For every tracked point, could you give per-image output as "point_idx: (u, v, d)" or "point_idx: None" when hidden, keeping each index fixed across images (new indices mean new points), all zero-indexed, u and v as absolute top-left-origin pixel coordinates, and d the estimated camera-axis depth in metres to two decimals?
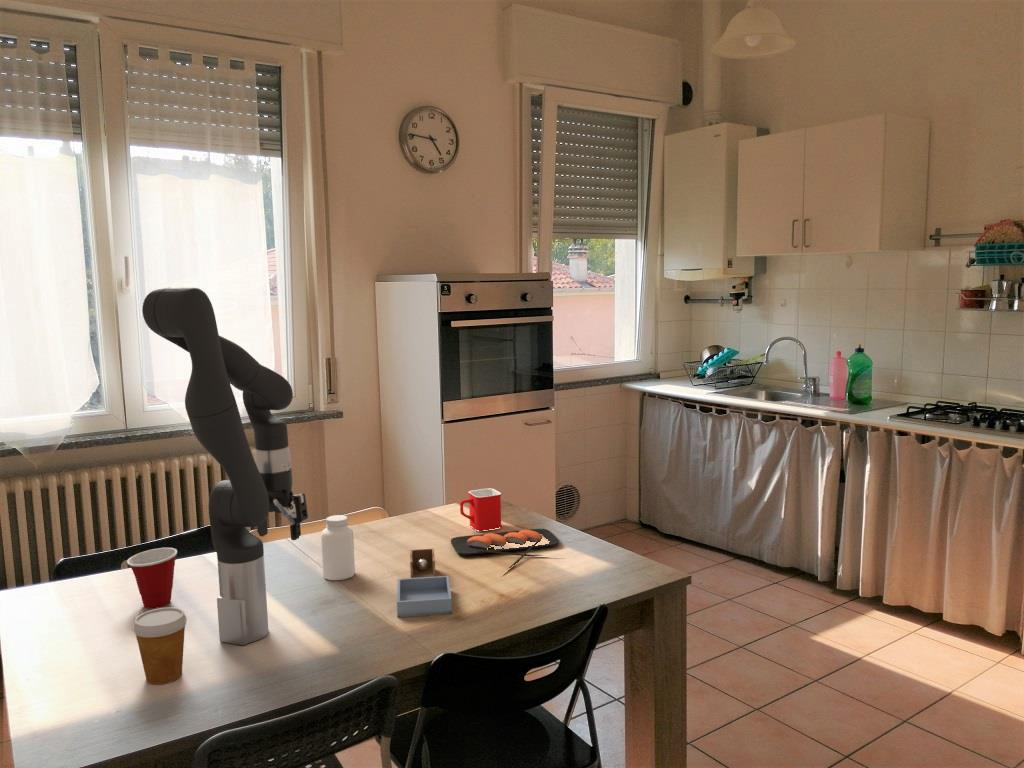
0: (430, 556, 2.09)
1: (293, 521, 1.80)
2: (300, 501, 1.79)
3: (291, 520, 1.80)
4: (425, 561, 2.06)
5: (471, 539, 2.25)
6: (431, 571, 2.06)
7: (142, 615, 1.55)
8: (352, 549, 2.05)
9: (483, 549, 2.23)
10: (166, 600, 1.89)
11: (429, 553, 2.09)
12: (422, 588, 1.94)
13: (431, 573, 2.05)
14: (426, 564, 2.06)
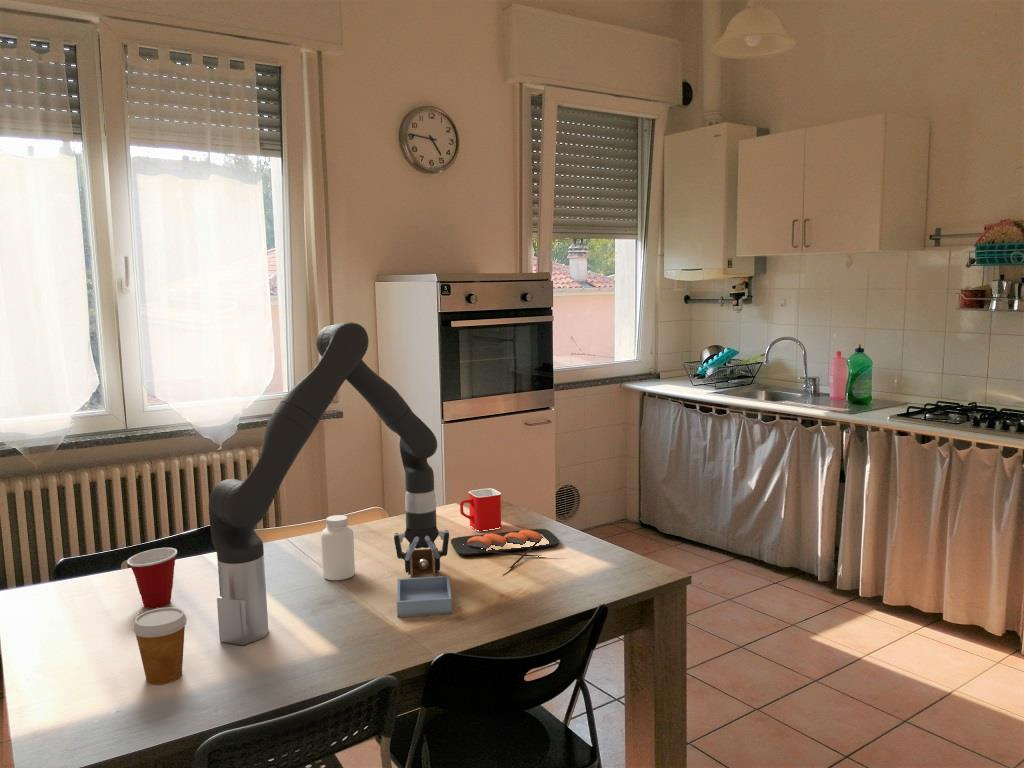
0: (430, 556, 2.09)
1: (438, 556, 2.04)
2: (448, 537, 2.04)
3: (437, 555, 2.04)
4: (426, 561, 2.07)
5: (471, 539, 2.24)
6: (431, 571, 2.06)
7: (142, 615, 1.55)
8: (352, 549, 2.05)
9: (483, 549, 2.23)
10: (166, 600, 1.89)
11: (429, 553, 2.09)
12: (422, 588, 1.94)
13: (431, 573, 2.05)
14: (427, 564, 2.06)
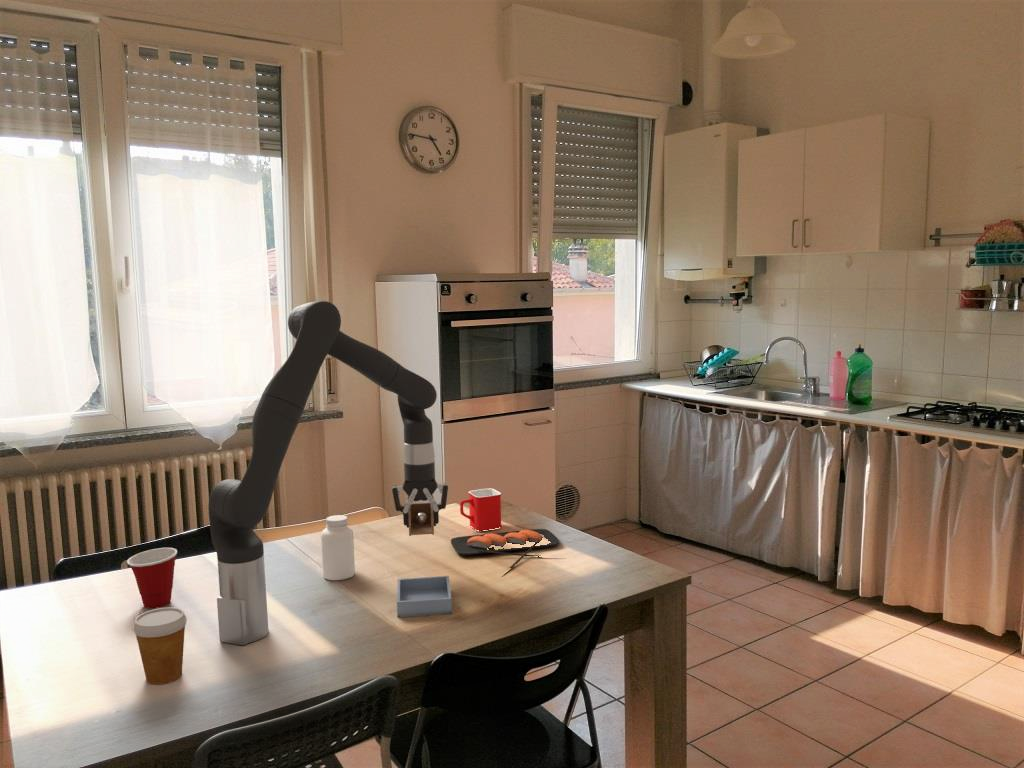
0: (429, 510, 2.07)
1: (437, 509, 2.02)
2: (447, 490, 2.03)
3: (435, 508, 2.02)
4: (425, 515, 2.05)
5: (471, 539, 2.24)
6: (429, 525, 2.05)
7: (142, 615, 1.55)
8: (352, 549, 2.05)
9: (483, 549, 2.23)
10: (166, 600, 1.89)
11: (428, 507, 2.07)
12: (422, 588, 1.94)
13: (429, 526, 2.04)
14: (425, 518, 2.05)
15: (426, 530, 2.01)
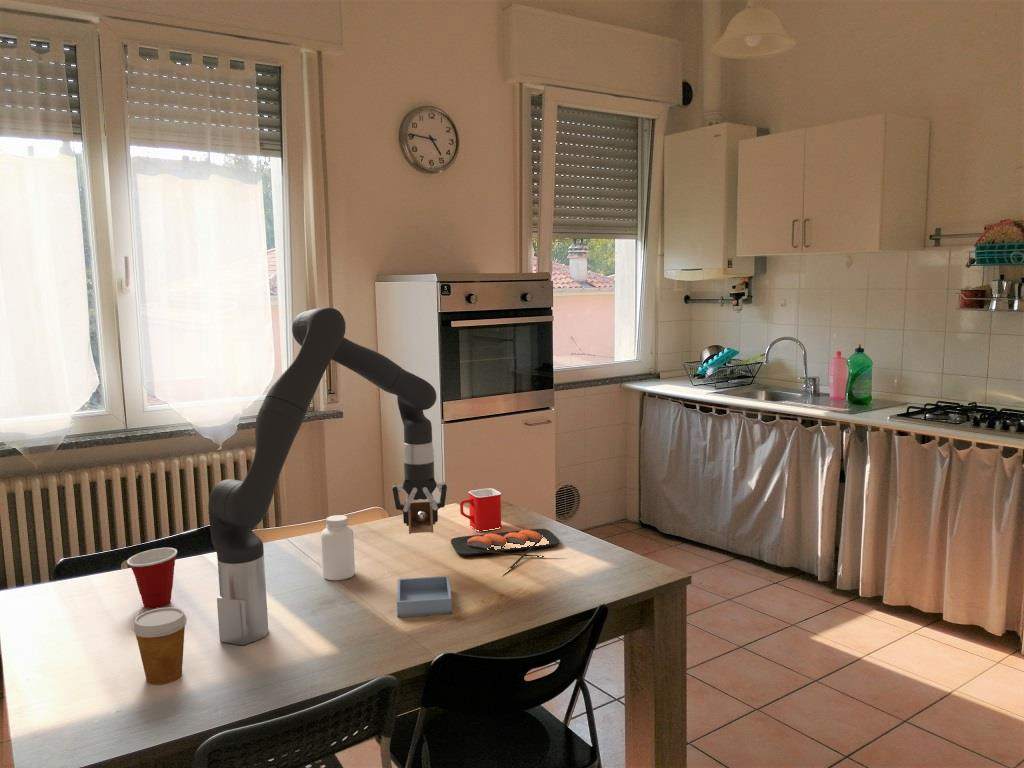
0: (428, 509, 2.12)
1: (436, 507, 2.07)
2: (446, 489, 2.07)
3: (434, 506, 2.07)
4: (425, 513, 2.10)
5: (471, 539, 2.24)
6: (429, 523, 2.10)
7: (142, 615, 1.55)
8: (352, 549, 2.05)
9: (483, 549, 2.23)
10: (166, 600, 1.89)
11: (427, 506, 2.12)
12: (422, 588, 1.94)
13: (429, 524, 2.08)
14: (425, 516, 2.10)
15: (425, 528, 2.05)
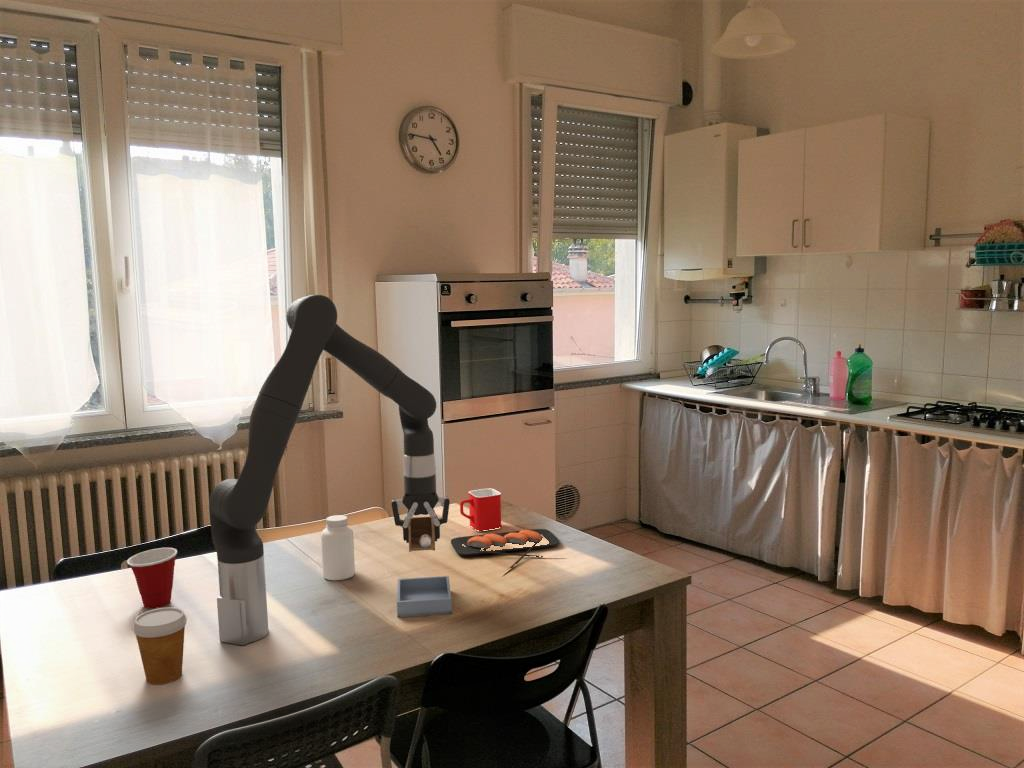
0: (429, 524, 1.99)
1: (438, 523, 1.94)
2: None
3: (436, 522, 1.94)
4: None
5: (471, 539, 2.24)
6: None
7: (142, 615, 1.55)
8: (352, 549, 2.05)
9: (483, 549, 2.23)
10: (166, 600, 1.89)
11: (428, 521, 1.99)
12: (422, 588, 1.94)
13: None
14: None
15: None
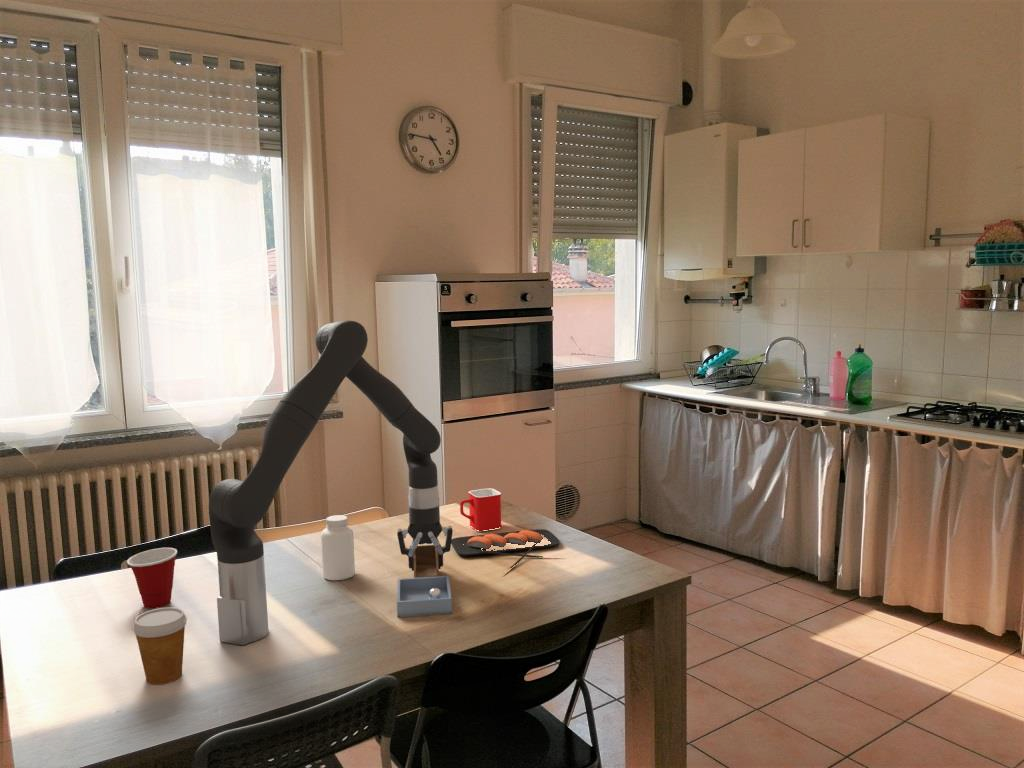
0: (433, 552, 2.08)
1: (442, 552, 2.03)
2: None
3: (440, 551, 2.03)
4: (436, 590, 1.87)
5: (471, 540, 2.24)
6: (434, 567, 2.06)
7: (142, 615, 1.55)
8: (352, 549, 2.05)
9: (483, 550, 2.22)
10: (166, 600, 1.89)
11: (432, 549, 2.08)
12: (422, 588, 1.94)
13: (434, 569, 2.04)
14: (438, 592, 1.87)
15: (431, 573, 2.01)
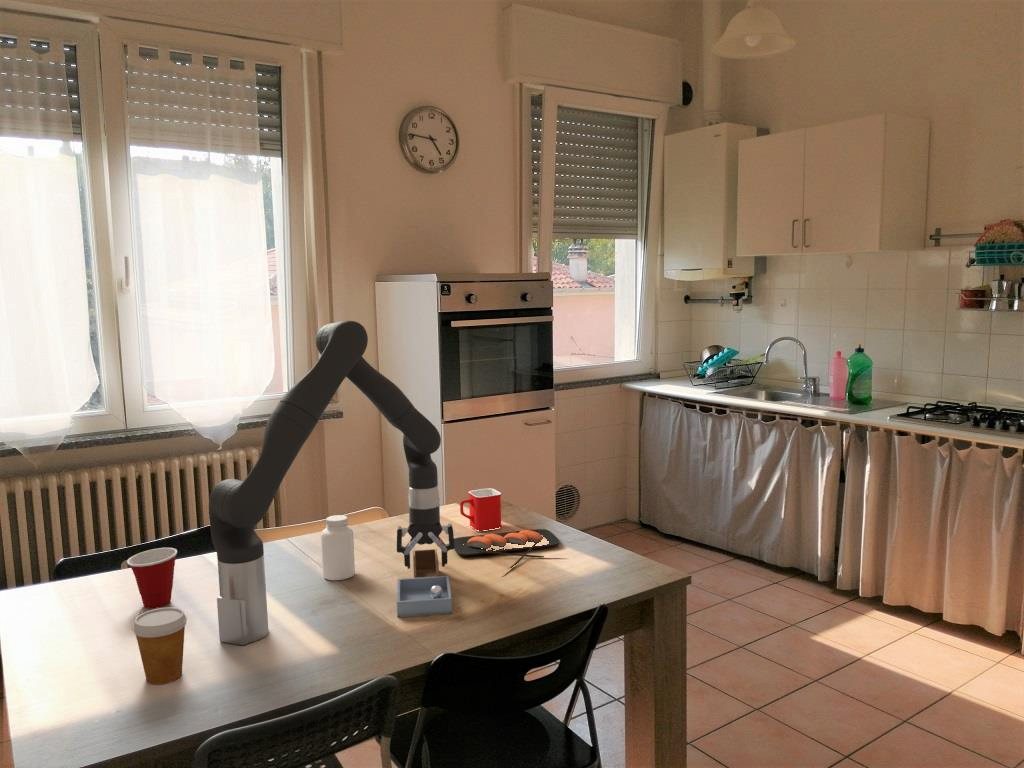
0: (433, 557, 2.08)
1: (446, 549, 2.03)
2: None
3: (444, 548, 2.03)
4: None
5: (471, 540, 2.24)
6: (434, 572, 2.06)
7: (142, 615, 1.55)
8: (352, 549, 2.05)
9: (483, 550, 2.22)
10: (166, 600, 1.89)
11: (432, 554, 2.08)
12: (422, 588, 1.94)
13: (434, 574, 2.05)
14: (440, 587, 1.90)
15: None
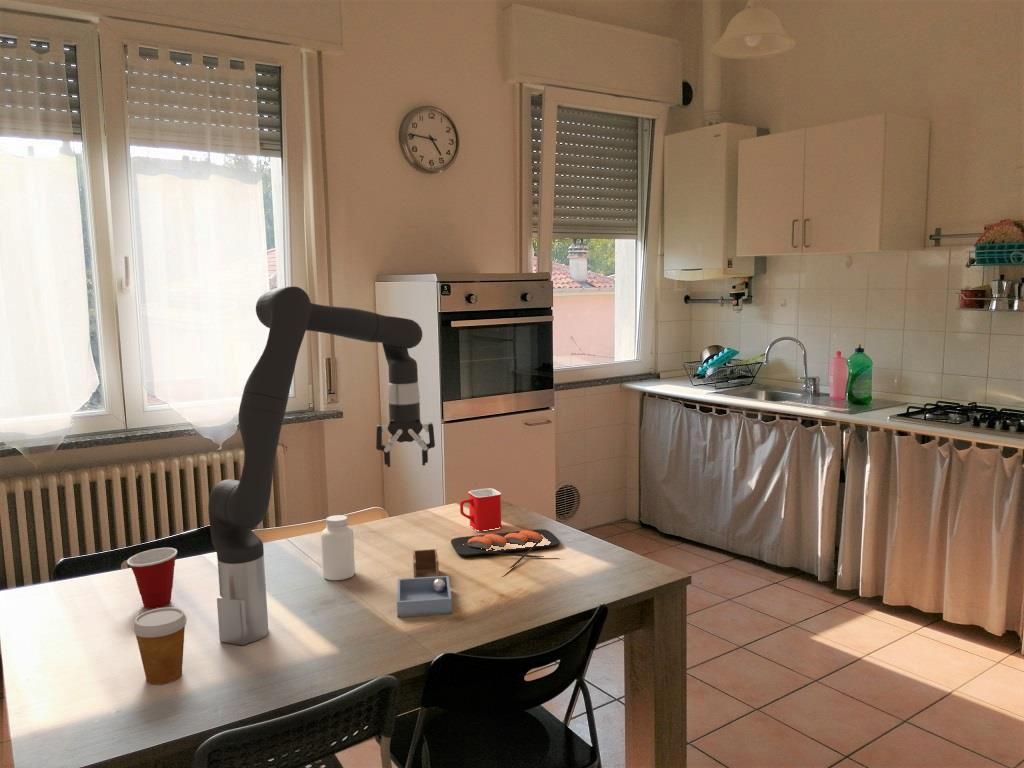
0: (433, 557, 2.08)
1: (426, 447, 2.01)
2: None
3: (424, 446, 2.01)
4: (440, 591, 1.93)
5: (471, 540, 2.24)
6: (434, 572, 2.06)
7: (142, 615, 1.55)
8: (352, 549, 2.05)
9: (483, 550, 2.22)
10: (166, 600, 1.89)
11: (432, 554, 2.08)
12: (422, 588, 1.94)
13: (434, 574, 2.05)
14: None
15: None
